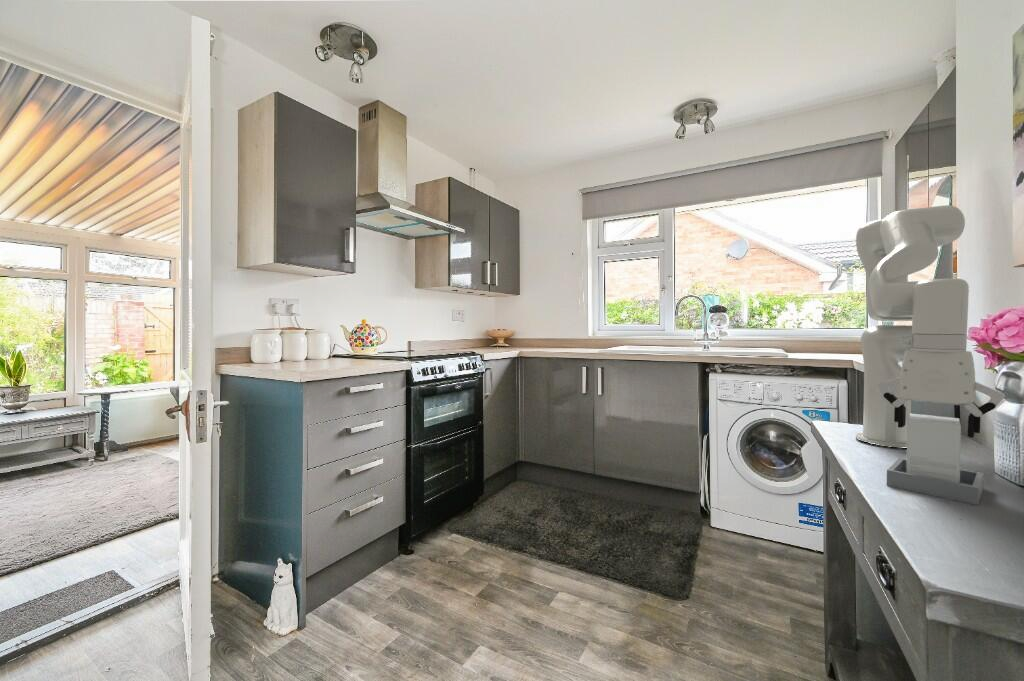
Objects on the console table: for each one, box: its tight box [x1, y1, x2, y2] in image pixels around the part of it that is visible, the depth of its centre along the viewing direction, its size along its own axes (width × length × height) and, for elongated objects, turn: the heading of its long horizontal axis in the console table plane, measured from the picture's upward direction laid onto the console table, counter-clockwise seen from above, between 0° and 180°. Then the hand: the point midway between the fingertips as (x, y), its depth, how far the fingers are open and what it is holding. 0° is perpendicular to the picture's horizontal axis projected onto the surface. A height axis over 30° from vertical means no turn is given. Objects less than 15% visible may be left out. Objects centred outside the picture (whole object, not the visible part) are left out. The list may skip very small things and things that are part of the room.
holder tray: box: [886, 457, 984, 506], centre depth 82 cm, size 12×12×3 cm
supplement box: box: [906, 413, 962, 483], centre depth 82 cm, size 7×7×13 cm
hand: (934, 431), depth 82 cm, fingers open, 9 cm apart
